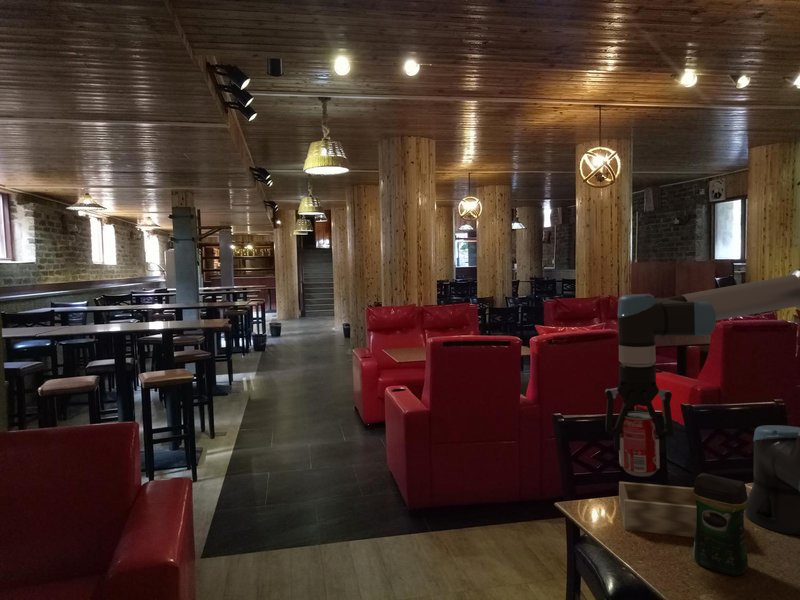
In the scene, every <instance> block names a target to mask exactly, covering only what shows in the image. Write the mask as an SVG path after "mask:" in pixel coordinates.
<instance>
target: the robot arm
mask: <svg viewBox="0 0 800 600" xmlns="http://www.w3.org/2000/svg"><path fill="white" fill-rule="evenodd" d="M617 301H618V303H617V304H618V305H617V316H616V317H617V325H618V326H617V328H618V329H617V330H618V362H620V364H619V365H618V381H619V382H618V385H617V386H616V387H614V388H605V390H604V392H605V395H606V412H605V423H604V424H605V425H604V428H605V429H604V430H605V433H606V434H608V435H612V436H613V448H614V449H615V451H618V455H619V457H618V459H619V465H620V467H623V466H624V440H623V437H622V436H621V432H622V429H623V422H624V420H625V416H626V417H627V415H628V412H630V410H631V408H632V407H634V406H635V407H636V406H640V407H646V411H647V413H649V415H650V417H653V418H652V420H653V421H654V423H655V429H656V468H657V470H659V469H660V468H661V467H660V453H661V454H663V453H665V440H666V438H668V437H673V436H674V427H673V425H674V424H673V418H672V410H671V409H672V408H671V400H672V397H673V394H672V392H671V391H670V390H669V389H660V388H659V387H658V385H657V367H656V365H655V363H656V362H657V361H656V359H657V358H656V345H657V344H656V343H657V342H656V338H657V337H660V338H661V337H698V336H700V337H701V336H708V335H709V336H710V335H711V334H712V333H713V332H714V330H715V328H716V325H717V321H721V320H726V319H727V320H728V319H732V318H738V317H743V316H749V315H750V316H751V315H755V314H761V313H766V312H773V311H778V310H783V309H790V308H796V309H799V310H800V268H798V269H793V270H791V271H789V272H788V274H787V275H783V276H778V277H773V278H768V279H767V278H766V279H763V280H755V281H752V282H751V281H750V282H746V283H745V282H744V283H739V284H734V285H729V286H725V287H724V286H722V287H717V288H713V289H706V290H702V291H697V292H691V293H690V292H689V293H685V294H680V295H675V296H670V297H669V296H668V297H655V296H654V295H653V294H649V293H648V294H645V293H644V294H643V293H641V294H639V293H637V294H623V295H621V296H620V297H619V298H618V300H617ZM617 394H619V395H620V396H621V397H622V400H623V402H622V407H621V409H620V411H619V413H618V416H617V420H616V422H615V424H614V425H615V426H614V427H613V418H614V407H615V406H614V405H615V403H614V400H615V399H616V398H617ZM657 395H659V398H660V399H661V404H662V413H663V422H664V429H663V428H662V426H661V424H660V420H659V419H658V416H657V413H656V411H655V409H654V406H653V403H652V401H654V399H655V397H656V396H657ZM752 441H753V485H752V487H751V490H750V492H749V494H748V495H747V497H748V503H747V506H746V508H745V510H744V516H745V517H746V518H747V519H748V520H749V521H751V522H752V523H754V524H756V525H758V526H761V527H762V528H764V529H766V530H767V529H768V530H771V531H774V532H778V533H782V534H786V535H787V534H788V535H796V536H800V427H799V426H791V425H780V424H779V425H778V424H777V425H776V424H774V425H773V424H772V425H770V424H768V425H760V426H757V427H756V428H755V429H754V435H753V440H752Z"/></svg>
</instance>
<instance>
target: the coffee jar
mask: <svg viewBox="0 0 800 600" xmlns="http://www.w3.org/2000/svg"><path fill="white" fill-rule="evenodd" d="M693 486H694V487H693V488H694V490H693V496H694V499H695V502H696V507H697V520H696V531H695V537H694V540H693V541H694V542H693V549H692V550H693V552H692V553H693V554H692V555H693V559H694V561H695V562H696V563H697V564H698V565H700V566H702V567H704V568H707V569H710V570H712V571H716V572H719V573H723V574H726V575H728V576H729V575H730V576H739V575H743V574H745V572H746V571H747V569H748V566H749V564H748V563H749V561H748V552H747V551H748V549H747V542H746V533H745V520H744V519H745V508H746V506H747V503H748V491H747V485H746V483H745V482H744V481H743V480H736V479H732V478H728V477H723V476H719V475H715V474H713V475H712V474H708V473H705V472H702V473H700V474H698V475H697V476H696V477H695V480H694V485H693Z"/></svg>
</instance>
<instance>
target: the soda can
mask: <svg viewBox="0 0 800 600" xmlns="http://www.w3.org/2000/svg"><path fill="white" fill-rule="evenodd" d="M652 418H653V417H650V415H649V413H648V412H645V411H638V410H637V411H629V412H628V415H627V417H626V416H625V420H624V422H623V429H622V432H621V436H622V437H623V440H624V466H622V468H623V469H624V471H625V472H626V473H627V474H629V475H631V476H635V477H651V476H653V475H654V474H655V473H657V471H658V468H656V436H657V433H656V429H655V423H654V421H653V420H652Z"/></svg>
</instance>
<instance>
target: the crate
mask: <svg viewBox="0 0 800 600" xmlns="http://www.w3.org/2000/svg"><path fill="white" fill-rule="evenodd" d="M618 484H619V485H618V498H619V499H618V501H619V502H618V503H619V504H618V507H619V513H620V517H621V521H622V524H623V529H624V530H626V531H633V532H634V531H635V532H643V533H650V534H651V533H652V534H660V535H661V534H662V535H669V534H670V535H669V536H671V535H673V536H680V537H681V536H682V537H689V538H695V531H696V520H697V507H696V502H695V499H694V496H693V490H694V487H687V486H675V485H664V484H652V483H638V482H631V481H630V482H628V481H619V482H618Z"/></svg>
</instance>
